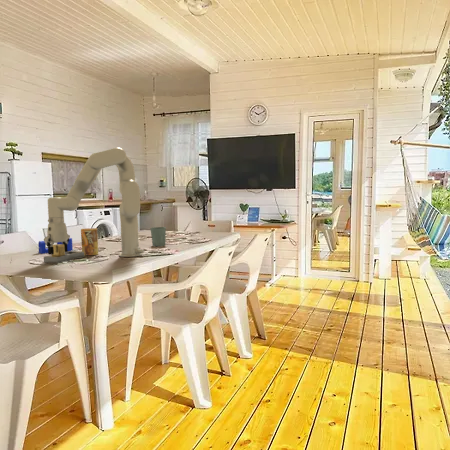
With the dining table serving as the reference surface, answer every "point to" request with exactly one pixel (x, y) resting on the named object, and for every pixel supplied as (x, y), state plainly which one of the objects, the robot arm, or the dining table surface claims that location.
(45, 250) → the bracket
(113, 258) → the dining table surface
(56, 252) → the tan shipping carton
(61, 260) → the grey flat frame
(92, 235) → the candy box
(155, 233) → the green cup
